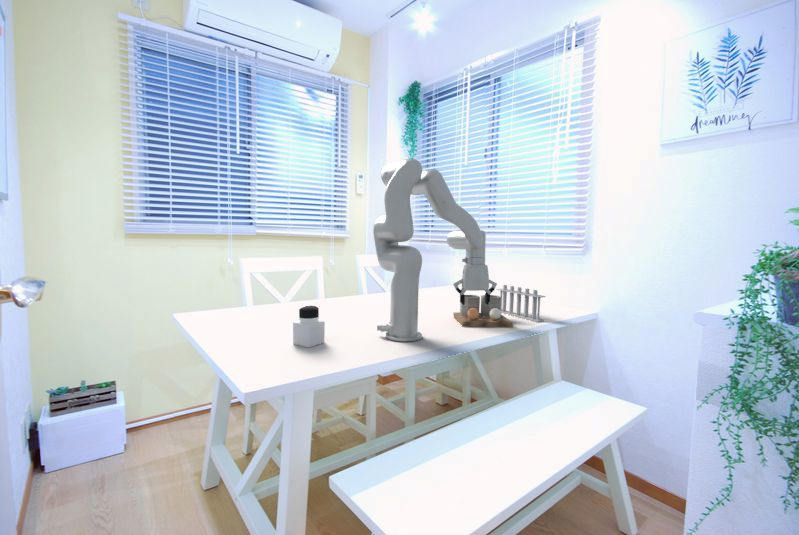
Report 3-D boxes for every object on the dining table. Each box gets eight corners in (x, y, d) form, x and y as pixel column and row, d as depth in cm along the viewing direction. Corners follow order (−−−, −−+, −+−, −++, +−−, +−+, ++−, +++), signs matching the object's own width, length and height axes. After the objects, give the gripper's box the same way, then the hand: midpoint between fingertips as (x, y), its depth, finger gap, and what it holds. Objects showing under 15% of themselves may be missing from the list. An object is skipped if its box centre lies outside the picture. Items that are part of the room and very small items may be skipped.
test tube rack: (494, 311, 179) (496, 284, 178) (501, 311, 181) (503, 283, 180) (537, 322, 157) (538, 291, 156) (544, 321, 159) (545, 290, 158)
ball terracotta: (468, 320, 148) (469, 309, 148) (466, 317, 152) (466, 307, 152) (480, 320, 148) (480, 309, 148) (477, 318, 153) (477, 307, 152)
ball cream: (491, 320, 149) (491, 309, 148) (487, 318, 153) (488, 307, 153) (502, 320, 149) (502, 309, 148) (498, 318, 153) (499, 307, 153)
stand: (462, 326, 147) (463, 301, 146) (453, 316, 165) (454, 294, 164) (512, 327, 148) (513, 302, 147) (498, 317, 166) (499, 294, 165)
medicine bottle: (324, 342, 122) (325, 306, 121) (309, 348, 116) (309, 309, 115) (308, 339, 125) (308, 303, 124) (292, 344, 119) (292, 306, 118)
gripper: (455, 262, 144) (455, 306, 146) (499, 262, 145) (499, 305, 147) (451, 260, 152) (451, 302, 154) (494, 260, 153) (493, 301, 155)
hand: (474, 304), depth 150 cm, fingers open, 9 cm apart
